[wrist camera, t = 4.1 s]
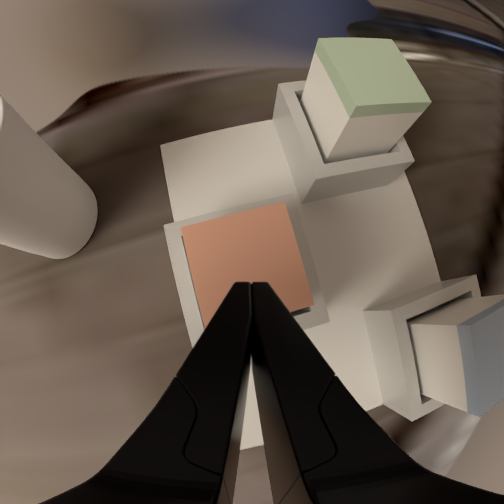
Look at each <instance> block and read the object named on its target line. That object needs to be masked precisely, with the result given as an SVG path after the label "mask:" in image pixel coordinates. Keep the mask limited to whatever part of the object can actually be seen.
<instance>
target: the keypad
mask: <svg viewBox="0 0 504 504" xmlns="http://www.w3.org/2000/svg"><path fill="white" fill-rule="evenodd" d="M305 84H306V80H305V81H296V82H288V83H281V84H278V89H277V95H276V101H275V107H274V113H273V118H272V120H267V121H261V122H256V123H251V124H246V125H241V126H236V127H231V128H226V129H222V130H218V131H213V132H209V133H205V134H201V135H196V136H192V137H189V138H185V139H181V140H177V141H173V142H170V143H166V144H163V145H160V148H161V154H162V159H163V165H164V171H165V176H166V182H167V187H168V192H169V198H170V203H171V208H172V213H173V218H174V222H173V223H170V224H166V225H164V230H165V235H166V239H167V244H168V249H169V254H170V258H171V263H172V267H173V272H174V276H175V281H176V285H177V289H178V293H179V297H180V301H181V306H182V310H183V313H184V317H185V321H186V325H187V329H188V333H189V337H190V340H191V344H192V348H193V347H194V345H195V344H196V342H197V341H198V339H199V338H200V336H201V334H202V333H203V331H204V330H205V327H204V323H203V319H202V315H201V311H200V307H199V303H198V299H197V296H196V291H195V287H194V283H193V279H192V275H191V271H190V267H189V262H188V258H187V254H186V249H185V245H184V240H183V236H182V231H181V227H184V226H188V225H192V224H196V223H199V222H203V221H207V220H211V219H215V218H219V217H223V216H227V215H231V214H235V213H239V212H243V211H247V210H251V209H256V208H260V207H264V206H268V205H272V204H277V203H281V202H285V205H286V208H287V211H288V215H289V218H290V221H291V224H292V228H293V231H294V234H295V238H296V241H297V245H298V248H299V251H300V255H301V258H302V262H303V265H304V269H305V272H306V276H307V279H308V283H309V287H310V290H311V294H312V297H313V301H314V305H313V306H310V307H306V308H303V309H299V310H296V311H292V312H290V313H291V314H292V315H293V317H294V318H295V319H296V321H297V322H298V324H299V325H300V326H301V328H302V329H303V330H304V332H305V333H306V334H307V336H308V337H309V338H310V340H311V341H312V343H313V344H314V345H315V347H316V348H317V349H318V351H319V352H320V353H321V355H322V356H323V357H324V359H325V360H326V361H327V363H328V364H329V366H330V367H331V368H332V370H333V371H334V372H335V376H338V377H339V379H340V380H341V382H342V383H343V384H344V386H345V387H346V388H347V390H348V391H349V392H350V393H351V395H352V396H353V397H354V398H355V400H356V401H357V402H358V403H359V404H360V406H361V407H362V408H363V409H364V410H365V411H368V410H370V409H372V408H375V407H377V406H380V405H382V404H384V405H385V406H387V407H389V408H390V409H392V410H394V411H395V412H397V413H399V414H400V415H402V416H404V417H405V418H407V419H409V420H410V421H414V420H416V419H418V418H420V417H422V416H424V415H426V414H427V413H429V412H431V411H433V410H435V409H437V408H438V407H440V406H442V405H444V403H442V402H439V401H437V400H434V399H432V398H430V397H427V396H425V395H422V394H420V390H419V384H418V378H417V372H416V366H415V361H414V356H413V350H412V345H411V341H410V336H409V331H408V327H407V322H409V321H411V320H414V319H416V318H418V317H421V316H423V315H425V314H428V313H430V312H432V311H434V310H436V309H439V308H441V307H443V306H445V305H447V304H449V303H452V302H454V301H456V300H458V299H466V298H475V297H481V293H480V288H479V284H478V280H477V276H476V274H475V275H470V276H465V277H460V278H455V279H450V280H445V281H441V280H440V276H439V273H438V269H437V265H436V262H435V258H434V255H433V251H432V248H431V245H430V241H429V238H428V235H427V232H426V229H425V226H424V223H423V220H422V217H421V214H420V211H419V208H418V205H417V203H416V200H415V197H414V195H413V192H412V189H411V187H410V184H409V182H408V179H407V177H406V174H405V172H404V171H405V170H406V169H407V168H408V167H409V166H410V165H411V164H412V163H413V162H414V161H415V160H414V158H413V156H412V154H411V151H410V149H409V147H408V145H407V143H406V140H405V138H404V136H402V137H401V138H400V139H399V140H398V142H397V143H396V144H395V145H394V146H393V147H392V148H391V149H390V151H389V152H388V153H386V154H380V155H373V156H367V157H361V158H355V159H349V160H343V161H338V162H332V163H327V164H324V163H323V160H322V157H321V155H320V152H319V149H318V147H317V144H316V142H315V139H314V137H313V134H312V132H311V129H310V127H309V124H308V122H307V120H306V117H305V115H304V112H303V110H302V108H301V105H300V101H301V98H302V94H303V91H304V87H305ZM260 445H264V442H263V436H262V430H261V424H260V418H259V411H258V405H257V399H256V392H255V386H254V379H253V373H252V364H251V365H250V375H249V383H248V391H247V399H246V407H245V414H244V422H243V430H242V437H241V445H240V450H242V449H247V448H251V447H255V446H260Z"/></svg>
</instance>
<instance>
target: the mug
mask: <svg viewBox="0 0 504 504" xmlns="http://www.w3.org/2000/svg"><path fill="white" fill-rule="evenodd" d="M97 214H98V208H97V201H96V198H95V195H94V193H93V191H92V190H91V188H90V187H89V186H88V185H87V184H86V183H85V182H84V181H83V180H82V179H81V178H80V176H79V175H78V174H77V173H76V172H74V171H73V170H72V169H71V168H70V167H69V166H68V165H67V164H66V163H65V162H64V161H63V160H62V159H61V158H60V157H59V156H58V155H57V154H56V153H55V152H54V151H53V150H52V149H51V148H50V147H49V146H48V145H47V144H46V143H45V142H44V141H43V139H42V138H41V137H40V136H39V135H38V134H37V133H36V132H35V131H34V130H33V129H32V128H31V127H30V126H29V125H28V124H27V123H26V122H25V121H24V120H23V118H21V116H20V115H19V114H18V113H17V112H16V111H15V110H14V109H13V108H12V107H11V106H10V105H9V104H8V103H7V102H6V101H5V100H4V99H3V98H2V97H1V95H0V244H3V245H6V246H9V247H13V248H16V249H19V250H23V251H26V252H29V253H33V254H38V255H42V256H45V257H49V258H53V259H63V258H67V257H70V256H72V255H74V254H75V253H77V252H78V251H79V250H81V249H82V248H83V247H84V246H85V244H86V243H87V242H88V240H89V239H90V237H91V235H92V233H93V231H94V228H95V225H96V221H97Z"/></svg>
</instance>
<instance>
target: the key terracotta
mask: <svg viewBox="0 0 504 504" xmlns="http://www.w3.org/2000/svg"><path fill="white" fill-rule="evenodd" d="M181 231H182V236H183V240H184V245H185V249H186V254H187V258H188V262H189V267H190V271H191V275H192V279H193V283H194V287H195V291H196V296H197V299H198V303H199V307H200V311H201V315H202V319H203V323H204V327H205V328H206V326H207V325H208V323H209V322H210V320H211V319H212V317H213V315H214V314H215V312H216V311H217V309H218V307H219V306H220V304H221V303H222V301H223V299H224V298H225V296H226V295H227V293H228V292H229V290H230V288H231V287H232V285H233V284H234V283H235V282H237V281H246V282H250V283H251V284H252V282H268V283H269V284H270V285H271V287H272V288H273V290H274V291H275V292H276V294H277V295H278V296H279V298H280V299H281V300H282V302H283V303H284V305H285V306H286V307H287V309H288V310H289V311H290V312H292V311H296V310H299V309H303V308H306V307H310V306H313V305H314V301H313V297H312V294H311V290H310V287H309V283H308V279H307V276H306V272H305V269H304V265H303V262H302V258H301V255H300V251H299V248H298V245H297V241H296V238H295V234H294V231H293V228H292V224H291V221H290V218H289V215H288V211H287V208H286V205H285V202H281V203H277V204H272V205H268V206H264V207H260V208H256V209H251V210H247V211H243V212H239V213H235V214H231V215H227V216H223V217H219V218H215V219H211V220H207V221H203V222H199V223H196V224H192V225H188V226H184V227H181Z"/></svg>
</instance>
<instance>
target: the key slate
mask: <svg viewBox="0 0 504 504" xmlns="http://www.w3.org/2000/svg"><path fill="white" fill-rule="evenodd" d="M407 327H408V331H409V336H410V341H411V345H412V350H413V356H414V361H415V366H416V372H417V378H418V384H419V390H420V394H422V395H425V396H427V397H430V398H432V399H434V400H437V401H439V402H442V403H444V404H447V405H450V406H452V407H455V408H457V409H460V410H462V411H465V412H468V413H470V414H473V415H476V416H478V417H480V416H482V415H483V414H485V413H486V412H487V411H488V410H490V409H491V408H493V407H494V406H495V405H497V404H498V403H499V402H501V401H502V400H503V399H504V294H502V295H493V296H485V297H475V298H466V299H458V300H456V301H454V302H452V303H449V304H447V305H445V306H443V307H441V308H439V309H436V310H434V311H432V312H430V313H428V314H425V315H423V316H421V317H418V318H416V319H414V320H411V321H409V322H407Z"/></svg>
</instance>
